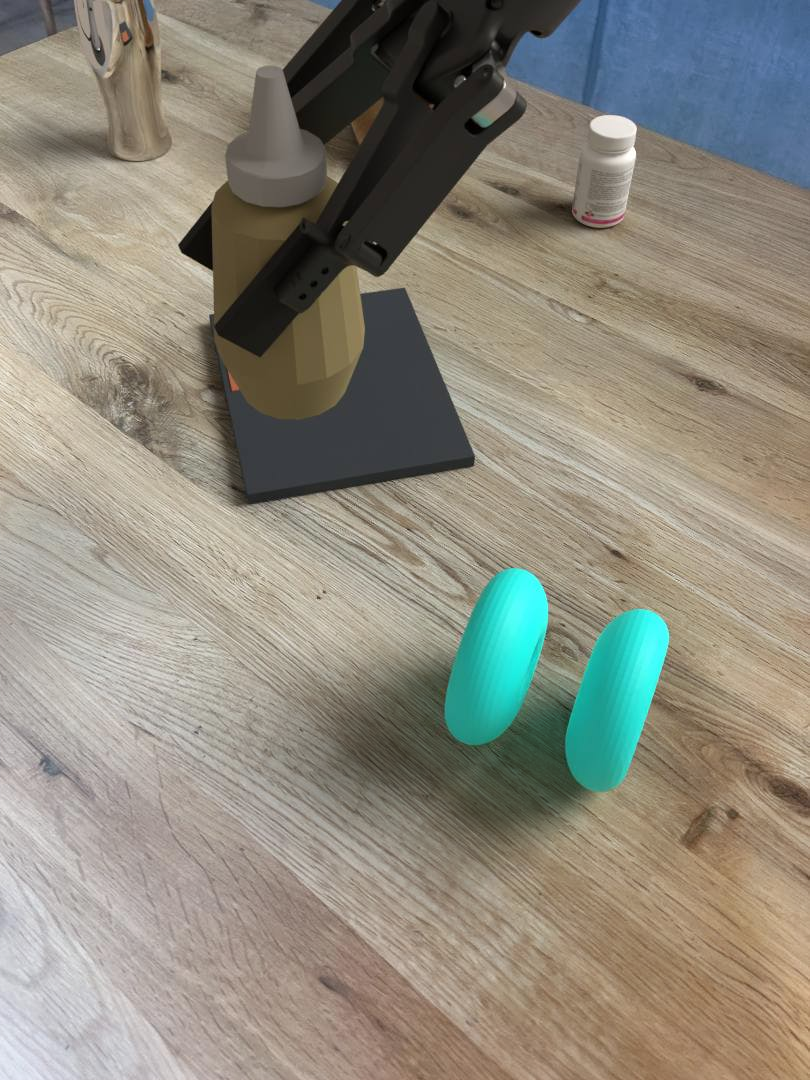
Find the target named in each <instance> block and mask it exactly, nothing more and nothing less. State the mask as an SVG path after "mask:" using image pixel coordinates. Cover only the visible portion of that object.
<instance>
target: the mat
mask: <svg viewBox="0 0 810 1080" xmlns="http://www.w3.org/2000/svg"><path fill="white" fill-rule="evenodd" d="M360 296H361V303H362V311H363V318H364V325H365V334H364V345H363V349H362V352H361V354H360V357H359V359H358V362H357V364H356V367H355V369H354V372H353V374H352V377H351V379H350V381H349V384H348V386H347V389H346V391H345V393H344V395H343V396H342V397H341V399H340V400H339V401H338V403H337V404H336V405H335V406H334V407H332V408H330V409H329V410H327V411H325V412H323V413H322V414H320V415H317V416H313V417H308V418H304V419H300V420H296V419H277V418H274V417H271V416H269V415H266V414H263V413H260V412H259V411H257V410H256V409H255V408H254V407H252V406H251V405H250V404H249V403H248V402H247V401H246V400H245V398H244V396H243V395H242V393H241V391H240V390H239V388H238V386H237V385H236V383H235V381H234V380H233V378H232V376H231V375H230V373H229V371H228V370H227V368H226V366H225V365H224V363H223V361H222V359H221V357H220V354H219V352H218V349H217V347H216V344H215V338H214V313H210V314H208V318H209V324H210V330H211V334H212V339H213V343H214V347H215V348H214V349H215V353H216V357H217V363H218V367H219V372H220V377H221V382H222V386H223V392H224V395H225V400H226V405H227V410H228V414H229V420H230V424H231V429H232V434H233V438H234V443H235V448H236V453H237V458H238V463H239V467H240V472H241V476H242V481H243V485H244V490H245V495H246V500H247V504H248V505H252V504H258V503H263V502H269V501H275V500H276V501H277V500H281V499H287V498H293V497H298V496H305V495H311V494H317V493H322V492H323V493H324V492H328V491H333V490H340V489H346V488H352V487H357V486H358V487H359V486H364V485H369V484H374V483H375V484H376V483H382V482H387V481H391V480H392V481H393V480H398V479H399V480H400V479H404V478H410V477H417V476H422V475H423V476H424V475H428V474H435V473H439V472H446V471H451V470H458V469H463V468H470V467H474V466H475V462H476V461H475V460H476V454H475V452H474V449H473V447H472V445H471V442H470V440H469V438H468V435H467V433H466V431H465V429H464V426H463V423H462V421H461V419H460V416H459V414H458V411H457V409H456V407H455V405H454V401H453V399H452V397H451V395H450V392H449V389H448V388H447V385H446V383H445V381H444V378H443V376H442V373H441V371H440V368H439V366H438V363H437V361H436V358H435V357H434V354H433V352H432V349H431V346H430V344H429V342H428V339H427V337H426V334H425V332H424V330H423V327H422V325H421V322H420V321H419V318H418V316H417V312H416V310H415V308H414V305H413V304H412V301H411V298H410V296H409V294H408V291H407V289H406V287H398V288H391V289H383V290H377V291H369V292H363V293H362V292H361V293H360Z"/></svg>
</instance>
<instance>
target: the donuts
mask: <svg viewBox="0 0 810 1080" xmlns="http://www.w3.org/2000/svg"><path fill="white" fill-rule="evenodd" d="M548 623H549V602H548V598H547V593H546V591H545V589H544V587H543V584H542V583H541V582H540V580H539V579H538V577H536V576H535V574H533V573H532V572H530V571H528V570H527V569H523V568H520V567H519V568H518V567H511V568H506V569H503V570H501V571H499V572H498V573H496V574H495V575H493V576H492V578H490V580H489V581H488V582H487V584H486V585H485V586H484V588H483V590H482V591H481V593H480V595H479V596H478V599H477V601H476V603H475V605H474V607H473V609H472V611H471V614H470V615H469V619H468V620H467V623H466V626H465V629H464V631H463V634H462V636H461V640H460V642H459V645H458V649H457V652H456V655H455V657H454V661H453V663H452V664H453V665H452V668H451V672H450V676H449V678H448V685H447V688H446V694H445V702H444V719H445V723H446V726H447V729H448V731H449V733H451V735H452V736H453V738H455V739H456V740H458V741H459V742H461V743H463V744H465V745H470V746H481V745H485V744H489V743H490V742H492V741H494V740H496V739H497V738H499V737H500V736H502V735H503V734H504V733H505V732H506V730H508V729H509V727H510V726H511V725H512V724H513V722H514V721H515V719H516V718H517V715H518V714H519V712H520V710H521V708H522V706H523V704H524V701H525V699H526V697H527V694H528V691H529V689H530V686H531V684H532V681H533V678H534V675H535V672H536V669H537V666H538V663H539V660H540V657H541V653H542V649H543V646H544V642H545V638H546V634H547V631H548V630H547V629H548ZM669 644H670V632H669V628H668V625H667V624H666V622H665V620H664V619H663V618H662V617H661V616H660V615H659V614H657V613H656V612H655V611H652V610H650V609H645V608H634V609H630V610H626V611H624V612H622V613H620V614H618V615H617V616H615V617H614V618H613V619H612V620H611V621H610V622H608V623H607V624H606V626H605V627H604V628H603V629H602V631H601V632H600V634H599V636H598V637H597V640H596V641H595V644H594V646H593V649H592V651H591V653H590V656H589V659H588V662H587V665H586V668H585V669H584V670H585V671H584V673H583V676H582V678H581V679H582V680H581V683H580V685H579V688H578V691H577V693H576V698H575V701H574V703H573V707H572V710H571V713H570V717H569V720H568V725H567V728H566V732H565V733H566V734H565V741H564V750H565V757H566V762H567V766H568V768H569V771H570V773H571V775H572V776H573V778H574V779H575V781H576V782H577V783H579V785H581V786H582V787H583V788H585V789H586V790H588V791H592V792H595V793H596V792H597V793H604V792H609V791H612V790H614V789H616V788H617V787H618V786H620V785H621V783H622V782H623V781H624V780H625V778H626V775H627V774H628V771H629V769H630V766H631V763H632V760H633V757H634V756H635V755H634V754H635V753H636V749H637V745H638V743H639V740H640V737H641V734H642V731H643V728H644V726H645V722H646V720H647V717H648V713H649V711H650V708H651V704H652V700H653V698H654V695H655V692H656V688H657V686H658V682H659V678H660V675H661V673H662V668H663V666H664V662H665V659H666V656H667V652H668V648H669Z"/></svg>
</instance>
